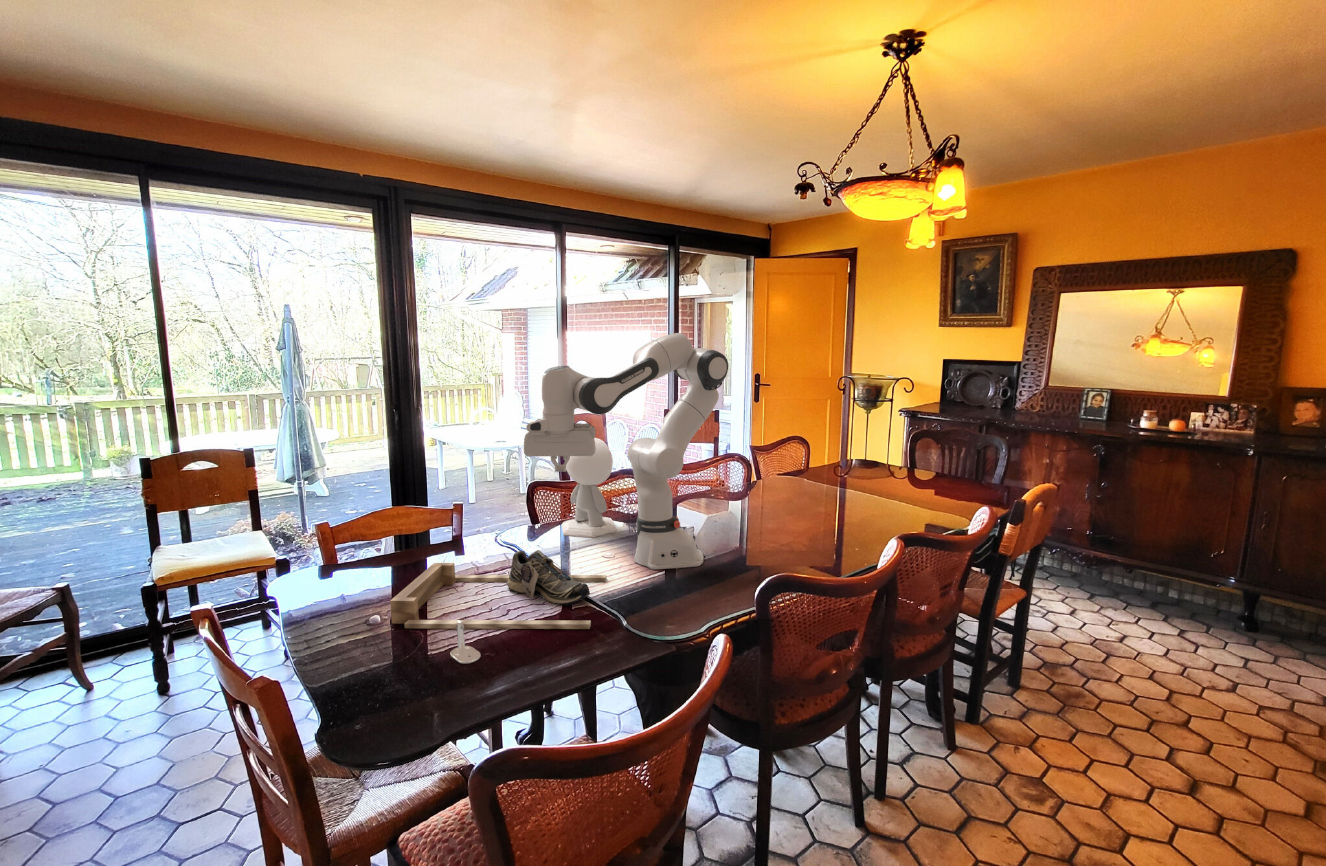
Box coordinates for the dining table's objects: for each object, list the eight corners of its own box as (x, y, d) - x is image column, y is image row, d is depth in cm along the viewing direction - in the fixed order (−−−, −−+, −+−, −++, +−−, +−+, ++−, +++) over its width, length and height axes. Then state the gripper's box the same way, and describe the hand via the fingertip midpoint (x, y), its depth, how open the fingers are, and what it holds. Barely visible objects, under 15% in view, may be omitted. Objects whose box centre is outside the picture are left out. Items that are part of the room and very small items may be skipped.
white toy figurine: (628, 527, 222) (626, 437, 217) (579, 541, 206) (575, 444, 201) (597, 517, 236) (594, 432, 231) (548, 529, 221) (544, 438, 216)
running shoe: (573, 613, 150) (572, 569, 148) (494, 594, 163) (491, 553, 161) (600, 596, 161) (598, 554, 159) (523, 578, 174) (521, 540, 172)
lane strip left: (590, 625, 144) (590, 620, 143) (589, 628, 142) (589, 624, 141) (408, 624, 145) (408, 619, 145) (404, 628, 143) (404, 623, 143)
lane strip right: (606, 578, 172) (606, 575, 172) (605, 581, 170) (605, 577, 170) (454, 578, 174) (453, 575, 174) (451, 581, 172) (451, 577, 172)
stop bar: (455, 582, 171) (454, 562, 171) (415, 623, 146) (413, 600, 145) (435, 582, 172) (434, 562, 171) (392, 623, 146) (390, 600, 145)
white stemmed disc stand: (464, 666, 126) (446, 653, 131) (484, 657, 129) (467, 645, 135) (461, 633, 125) (444, 621, 130) (482, 625, 128) (464, 614, 134)
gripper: (597, 421, 167) (598, 468, 169) (526, 422, 168) (529, 469, 170) (593, 424, 161) (595, 473, 163) (520, 425, 162) (523, 473, 164)
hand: (560, 471), depth 166 cm, fingers closed
